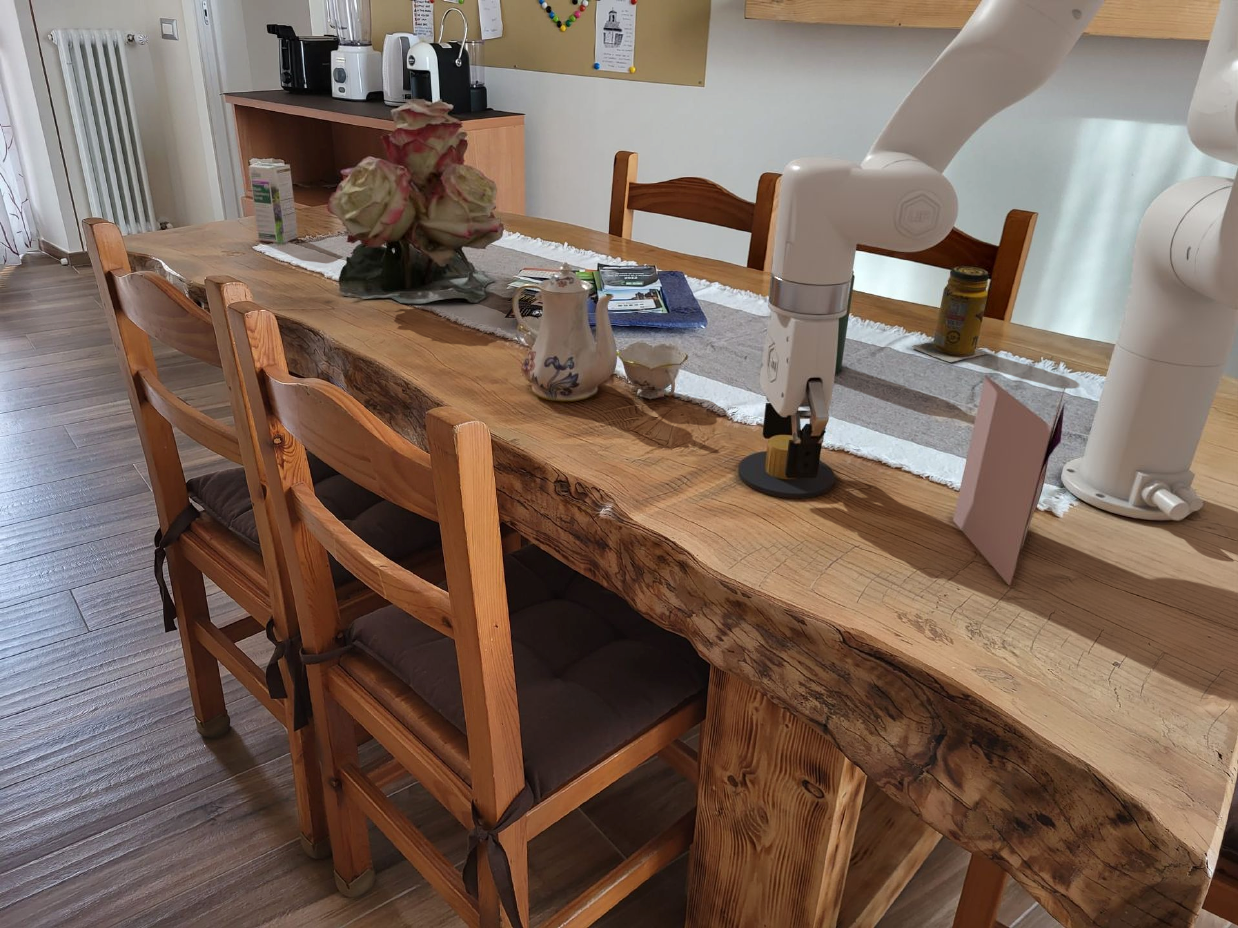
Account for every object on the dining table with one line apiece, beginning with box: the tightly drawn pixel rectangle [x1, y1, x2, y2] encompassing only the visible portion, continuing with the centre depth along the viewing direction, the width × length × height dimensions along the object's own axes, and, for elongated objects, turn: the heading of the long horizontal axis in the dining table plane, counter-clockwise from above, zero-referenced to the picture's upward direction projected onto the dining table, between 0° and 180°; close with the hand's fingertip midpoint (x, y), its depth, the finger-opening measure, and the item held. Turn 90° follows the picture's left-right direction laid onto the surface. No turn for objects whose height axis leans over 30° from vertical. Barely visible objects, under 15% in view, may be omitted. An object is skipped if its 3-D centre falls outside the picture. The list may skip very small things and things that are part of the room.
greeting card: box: [952, 374, 1067, 587], centre depth 81 cm, size 11×7×15 cm, turn 151°
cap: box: [765, 435, 796, 479], centre depth 95 cm, size 4×4×3 cm
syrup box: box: [248, 162, 299, 244], centre depth 180 cm, size 6×6×14 cm
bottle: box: [835, 270, 856, 375], centre depth 122 cm, size 6×6×19 cm
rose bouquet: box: [326, 98, 505, 305], centre depth 150 cm, size 26×29×30 cm
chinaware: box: [511, 261, 689, 403], centre depth 115 cm, size 28×17×17 cm, turn 56°
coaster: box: [737, 450, 836, 500], centre depth 96 cm, size 10×10×1 cm
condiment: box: [910, 265, 990, 363], centre depth 132 cm, size 7×8×12 cm
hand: (788, 456), depth 95 cm, fingers open, 8 cm apart
